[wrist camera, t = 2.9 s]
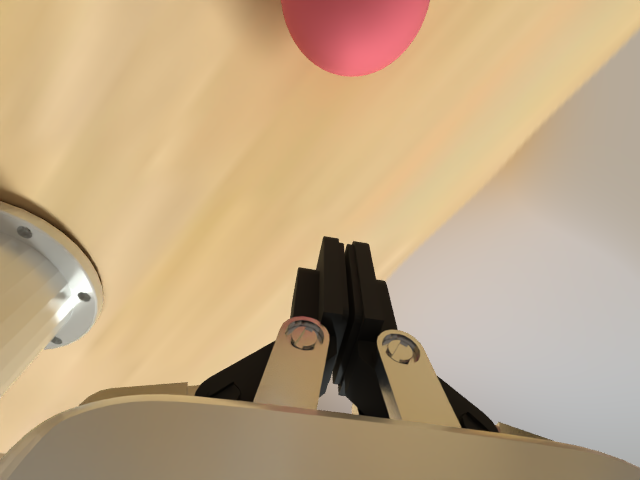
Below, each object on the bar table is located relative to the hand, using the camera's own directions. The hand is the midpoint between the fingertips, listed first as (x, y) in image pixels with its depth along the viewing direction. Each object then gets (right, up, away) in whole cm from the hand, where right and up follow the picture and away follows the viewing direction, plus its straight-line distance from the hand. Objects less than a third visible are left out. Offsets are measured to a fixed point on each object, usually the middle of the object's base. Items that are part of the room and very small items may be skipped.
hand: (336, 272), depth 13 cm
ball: (+1, +11, +1) cm, 11 cm away
